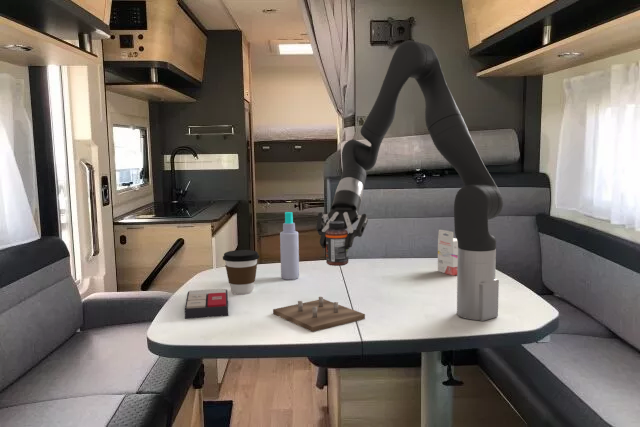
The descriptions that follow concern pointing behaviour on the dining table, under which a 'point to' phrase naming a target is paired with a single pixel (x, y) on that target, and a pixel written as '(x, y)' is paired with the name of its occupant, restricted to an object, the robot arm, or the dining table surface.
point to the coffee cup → (241, 270)
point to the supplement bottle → (336, 244)
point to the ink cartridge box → (447, 253)
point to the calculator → (206, 303)
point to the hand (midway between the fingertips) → (334, 246)
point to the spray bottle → (289, 249)
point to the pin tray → (318, 314)
